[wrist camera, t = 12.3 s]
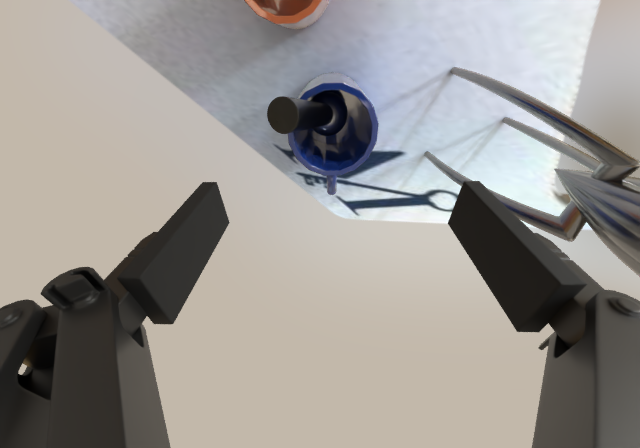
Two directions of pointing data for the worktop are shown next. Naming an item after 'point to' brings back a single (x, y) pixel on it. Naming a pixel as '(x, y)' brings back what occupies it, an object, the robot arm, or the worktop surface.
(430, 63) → the worktop surface
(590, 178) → the juicer
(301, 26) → the crock
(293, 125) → the long black cylinder
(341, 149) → the mug
